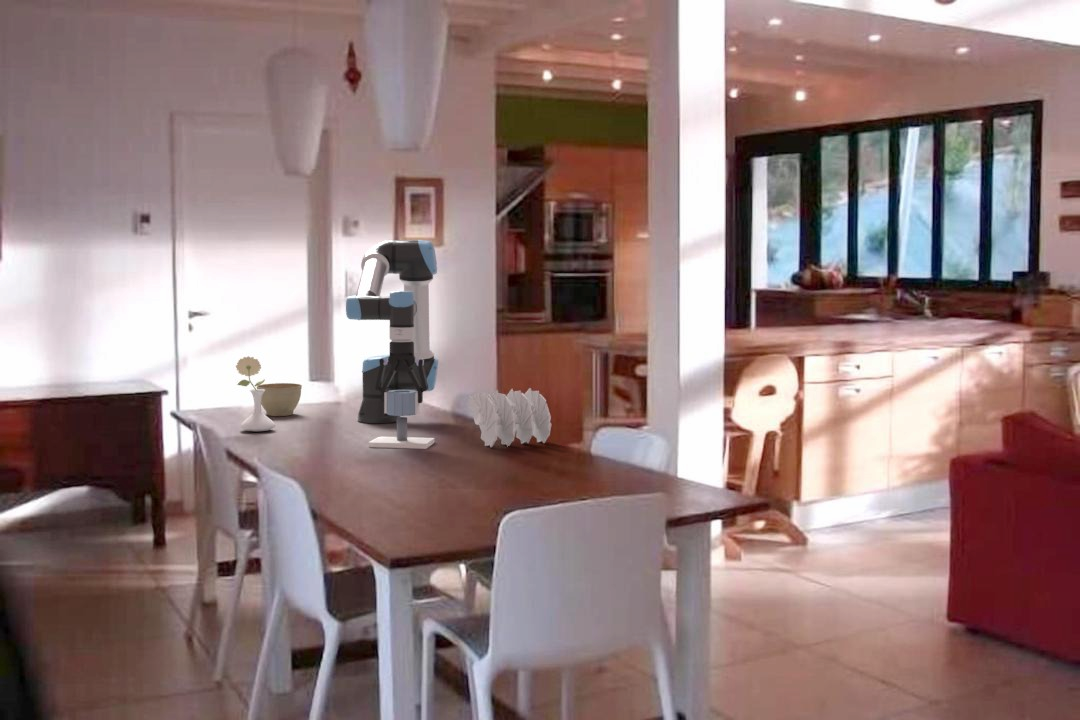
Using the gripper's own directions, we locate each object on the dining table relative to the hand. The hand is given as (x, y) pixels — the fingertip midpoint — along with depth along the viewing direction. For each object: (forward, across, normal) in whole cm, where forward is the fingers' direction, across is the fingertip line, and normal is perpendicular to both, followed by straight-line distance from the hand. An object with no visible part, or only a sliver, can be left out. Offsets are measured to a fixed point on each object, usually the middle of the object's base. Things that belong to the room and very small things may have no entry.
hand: (401, 413), depth 368 cm
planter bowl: (+10, -61, +60) cm, 86 cm away
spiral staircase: (+10, +34, +6) cm, 36 cm away
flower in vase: (+10, -55, +20) cm, 59 cm away
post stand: (+10, 0, 0) cm, 10 cm away
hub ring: (0, 0, 0) cm, 0 cm away
